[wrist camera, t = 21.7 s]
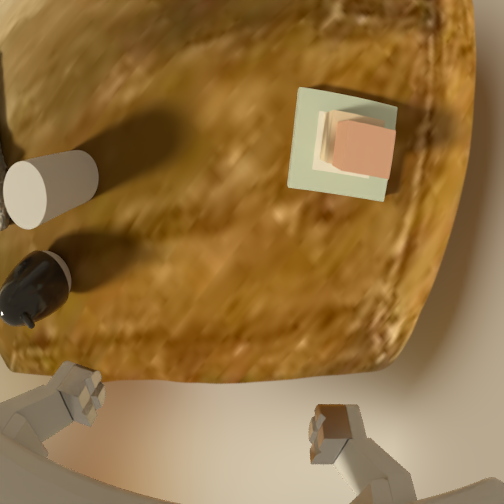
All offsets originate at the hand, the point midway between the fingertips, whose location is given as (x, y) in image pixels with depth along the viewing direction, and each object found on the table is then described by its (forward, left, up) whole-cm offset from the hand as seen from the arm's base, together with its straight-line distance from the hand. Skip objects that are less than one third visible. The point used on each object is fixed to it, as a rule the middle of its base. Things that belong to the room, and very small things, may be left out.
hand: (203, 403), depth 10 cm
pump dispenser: (+14, -32, -31) cm, 47 cm away
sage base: (-9, +10, -31) cm, 34 cm away
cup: (-2, -26, -31) cm, 41 cm away
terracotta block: (-9, +10, -24) cm, 27 cm away
